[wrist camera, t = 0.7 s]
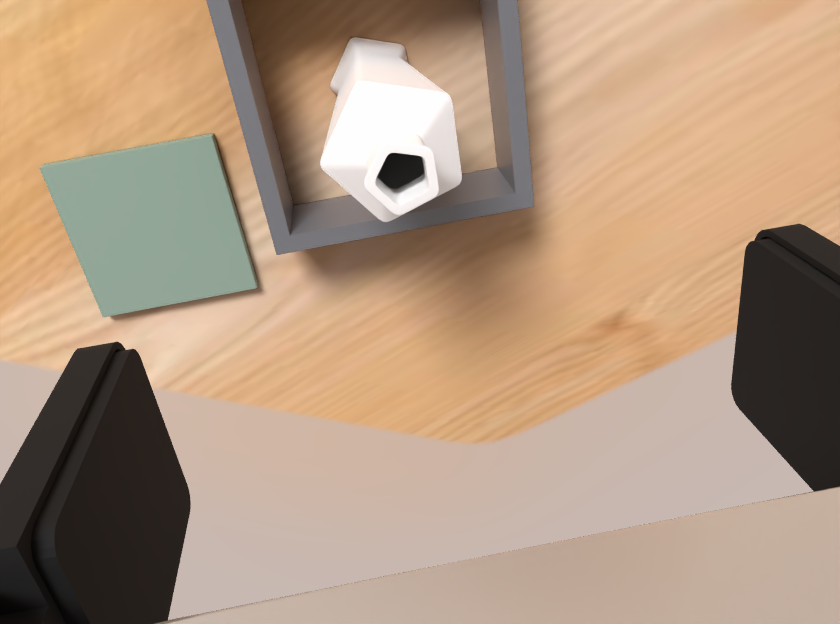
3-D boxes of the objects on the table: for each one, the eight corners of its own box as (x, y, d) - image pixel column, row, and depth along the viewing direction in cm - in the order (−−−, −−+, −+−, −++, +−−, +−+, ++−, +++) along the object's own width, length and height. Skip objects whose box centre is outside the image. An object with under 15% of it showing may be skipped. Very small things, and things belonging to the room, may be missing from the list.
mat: (213, 133, 34) (211, 136, 33) (257, 282, 38) (257, 288, 37) (44, 164, 34) (39, 167, 33) (106, 311, 37) (103, 317, 37)
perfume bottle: (397, 144, 35) (439, 276, 22) (313, 105, 34) (305, 219, 21) (441, 56, 33) (515, 141, 20) (354, 10, 32) (373, 70, 19)
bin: (489, -87, 31) (510, -89, 27) (514, 179, 37) (534, 206, 33) (212, -38, 30) (197, -34, 27) (281, 223, 36) (276, 255, 33)
